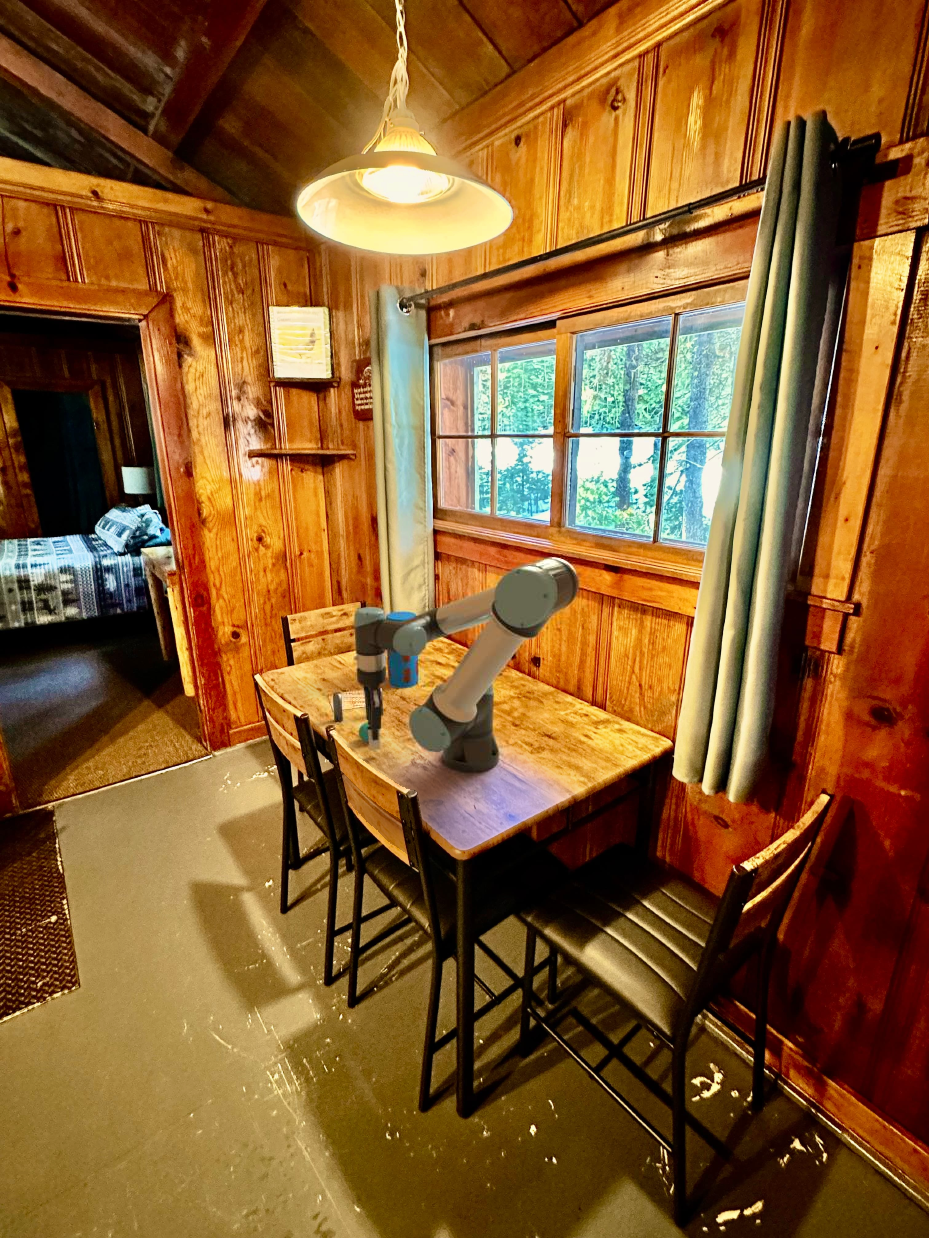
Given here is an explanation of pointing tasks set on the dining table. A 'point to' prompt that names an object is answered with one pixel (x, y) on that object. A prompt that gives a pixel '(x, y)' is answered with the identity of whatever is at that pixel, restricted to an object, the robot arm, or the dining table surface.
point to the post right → (382, 701)
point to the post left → (337, 707)
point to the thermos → (401, 660)
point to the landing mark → (351, 700)
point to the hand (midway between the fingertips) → (374, 748)
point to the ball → (364, 732)
